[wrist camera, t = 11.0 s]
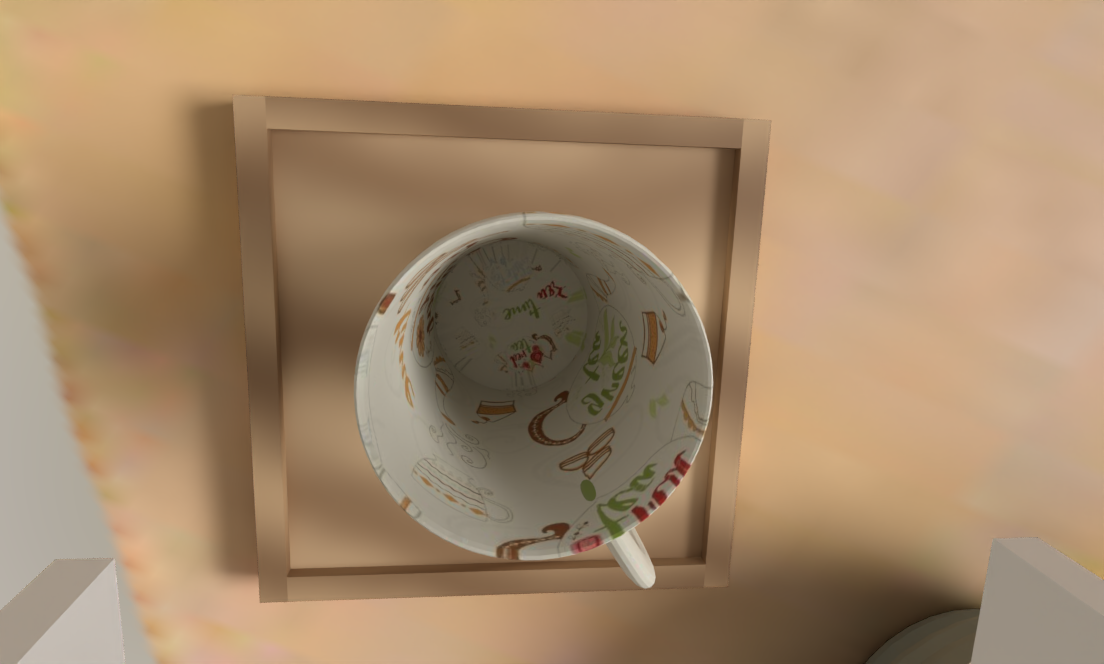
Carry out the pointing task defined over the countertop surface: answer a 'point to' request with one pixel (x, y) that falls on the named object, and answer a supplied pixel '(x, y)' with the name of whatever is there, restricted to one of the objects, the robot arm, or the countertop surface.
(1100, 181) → the countertop surface
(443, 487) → the mug
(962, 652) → the bowl
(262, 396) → the wooden tray
